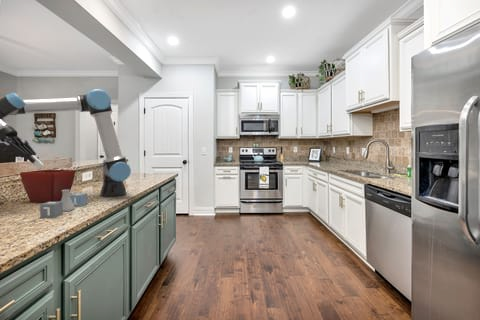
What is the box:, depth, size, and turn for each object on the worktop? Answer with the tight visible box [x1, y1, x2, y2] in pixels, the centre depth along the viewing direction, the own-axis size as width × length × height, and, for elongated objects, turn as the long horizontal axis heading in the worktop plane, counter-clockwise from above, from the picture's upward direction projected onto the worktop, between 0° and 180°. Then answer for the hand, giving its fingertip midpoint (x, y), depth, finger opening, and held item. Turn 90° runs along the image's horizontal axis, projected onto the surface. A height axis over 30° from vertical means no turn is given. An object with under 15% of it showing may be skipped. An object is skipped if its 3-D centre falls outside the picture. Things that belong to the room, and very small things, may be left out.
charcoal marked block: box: [39, 201, 64, 219], centre depth 120 cm, size 6×6×6 cm
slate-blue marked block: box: [70, 192, 88, 208], centre depth 142 cm, size 6×6×6 cm
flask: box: [60, 190, 76, 212], centre depth 131 cm, size 7×7×10 cm
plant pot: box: [19, 169, 76, 203], centre depth 154 cm, size 19×19×17 cm
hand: (40, 166), depth 129 cm, fingers closed
